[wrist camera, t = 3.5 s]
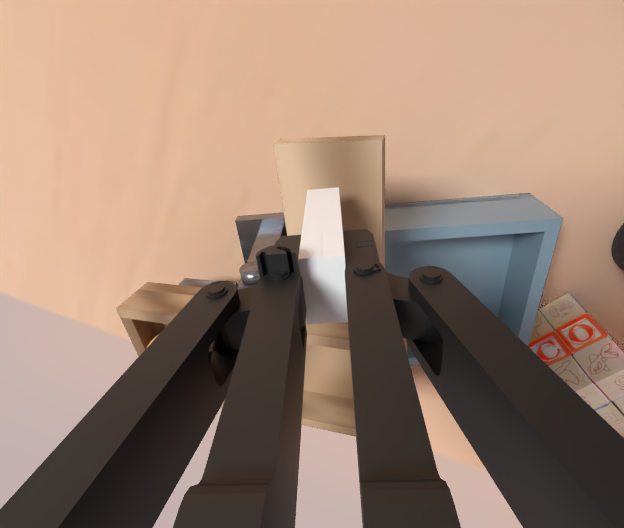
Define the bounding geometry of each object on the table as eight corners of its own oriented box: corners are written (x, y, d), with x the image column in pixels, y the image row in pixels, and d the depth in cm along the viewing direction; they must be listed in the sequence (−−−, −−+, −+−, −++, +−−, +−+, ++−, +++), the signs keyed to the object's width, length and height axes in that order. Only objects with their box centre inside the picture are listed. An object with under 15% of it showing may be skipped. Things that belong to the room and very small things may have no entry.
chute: (198, 341, 36) (156, 393, 30) (126, 135, 26) (46, 161, 21) (408, 373, 30) (400, 446, 24) (420, 121, 20) (411, 153, 14)
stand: (264, 336, 39) (246, 417, 30) (237, 216, 32) (204, 278, 23) (320, 333, 38) (317, 415, 30) (305, 210, 31) (297, 272, 23)
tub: (372, 330, 38) (377, 366, 34) (369, 205, 31) (376, 231, 27) (501, 324, 37) (523, 360, 33) (529, 193, 30) (562, 217, 26)
